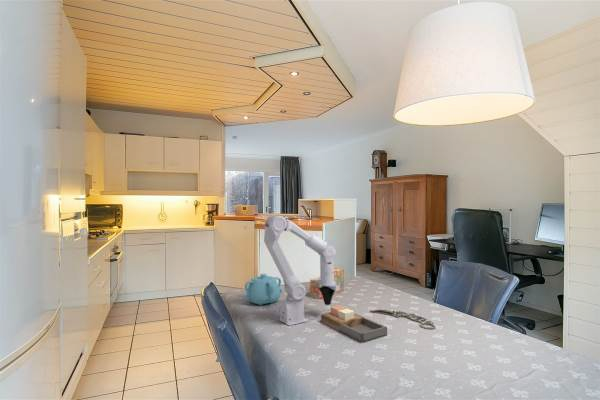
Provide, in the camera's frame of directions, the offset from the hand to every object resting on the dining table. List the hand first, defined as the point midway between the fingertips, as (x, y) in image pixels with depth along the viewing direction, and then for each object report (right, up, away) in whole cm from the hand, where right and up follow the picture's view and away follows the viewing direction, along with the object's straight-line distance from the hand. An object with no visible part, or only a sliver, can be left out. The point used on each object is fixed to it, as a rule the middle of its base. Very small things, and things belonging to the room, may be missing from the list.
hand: (327, 304), depth 140 cm
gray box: (+11, -5, -19) cm, 23 cm away
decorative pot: (-30, -6, +22) cm, 37 cm away
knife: (+31, -5, -3) cm, 32 cm away
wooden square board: (+5, -5, -9) cm, 11 cm away
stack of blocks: (+3, -6, +35) cm, 35 cm away
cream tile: (+6, -2, -11) cm, 13 cm away
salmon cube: (+4, -2, -6) cm, 8 cm away
